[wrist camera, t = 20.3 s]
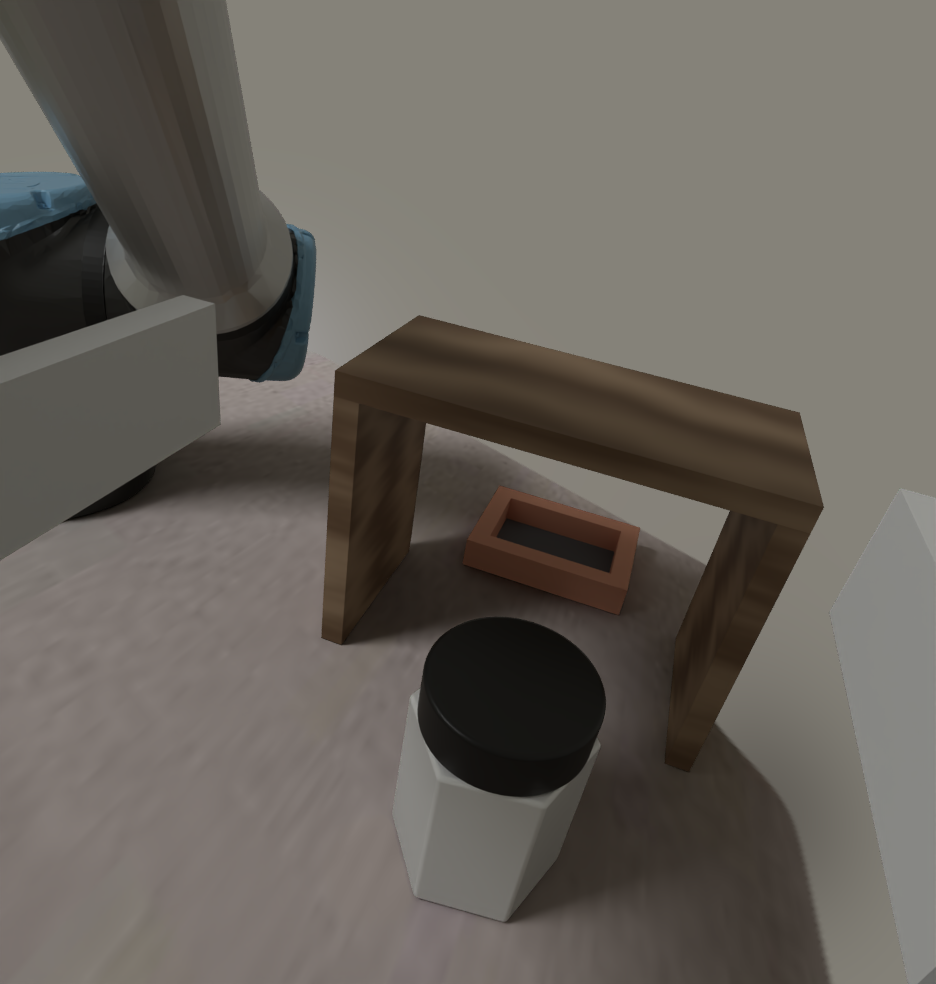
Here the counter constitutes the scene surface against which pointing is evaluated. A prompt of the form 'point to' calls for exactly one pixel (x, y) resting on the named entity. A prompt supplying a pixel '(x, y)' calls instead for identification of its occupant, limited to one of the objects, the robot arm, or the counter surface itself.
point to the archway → (583, 443)
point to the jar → (494, 762)
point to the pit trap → (554, 549)
